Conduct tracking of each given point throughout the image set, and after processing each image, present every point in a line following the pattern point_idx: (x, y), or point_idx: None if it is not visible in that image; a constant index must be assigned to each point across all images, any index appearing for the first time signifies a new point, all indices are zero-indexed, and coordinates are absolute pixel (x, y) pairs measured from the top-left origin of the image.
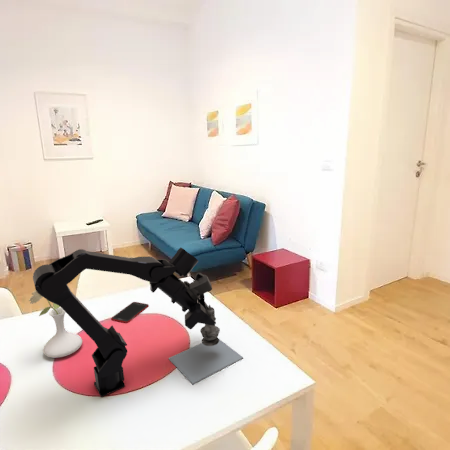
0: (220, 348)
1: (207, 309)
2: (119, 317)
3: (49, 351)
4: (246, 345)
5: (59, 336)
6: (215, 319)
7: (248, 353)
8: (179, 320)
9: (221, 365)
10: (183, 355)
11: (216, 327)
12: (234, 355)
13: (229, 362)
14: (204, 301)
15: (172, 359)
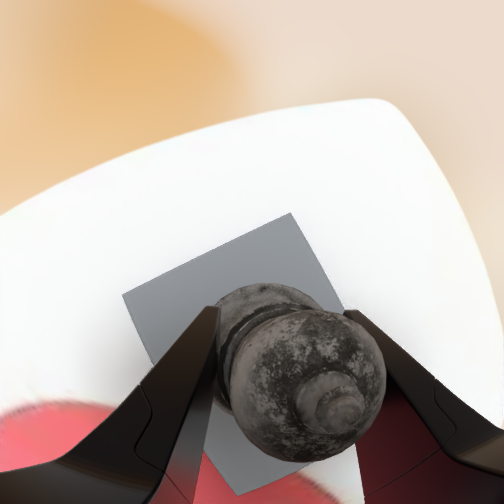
0: (212, 292)
1: (353, 434)
2: None
3: None
4: (208, 183)
5: None
6: (307, 308)
7: (261, 188)
8: (5, 404)
9: (327, 306)
10: (231, 450)
11: (253, 304)
12: (272, 242)
13: (313, 271)
14: (143, 501)
15: (249, 485)
